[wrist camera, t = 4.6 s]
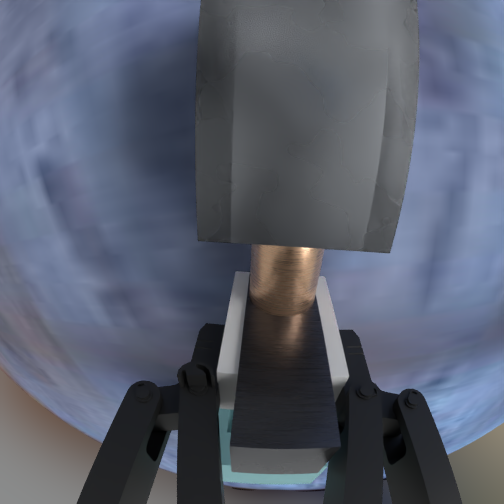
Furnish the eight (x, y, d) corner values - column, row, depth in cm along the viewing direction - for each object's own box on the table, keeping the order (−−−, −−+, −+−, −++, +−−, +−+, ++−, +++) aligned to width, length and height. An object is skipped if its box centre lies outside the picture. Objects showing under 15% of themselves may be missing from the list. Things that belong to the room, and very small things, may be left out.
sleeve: (232, 11, 9) (206, -47, 4) (359, 24, 9) (414, -18, 4) (225, 186, 14) (197, 240, 8) (346, 195, 14) (389, 253, 8)
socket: (215, 368, 20) (198, 461, 13) (318, 373, 20) (327, 466, 13) (218, 400, 23) (205, 479, 16) (306, 404, 23) (310, 483, 16)
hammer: (260, 21, 9) (240, -124, 1) (337, 29, 8) (454, -73, 1) (245, 370, 18) (233, 493, 10) (292, 372, 18) (295, 495, 10)
